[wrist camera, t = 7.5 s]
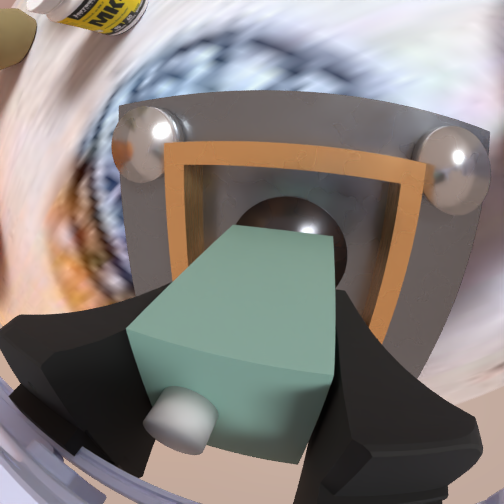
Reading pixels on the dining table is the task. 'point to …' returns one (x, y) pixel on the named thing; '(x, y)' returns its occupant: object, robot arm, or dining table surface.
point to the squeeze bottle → (15, 36)
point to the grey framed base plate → (311, 194)
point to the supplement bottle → (92, 13)
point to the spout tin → (242, 345)
